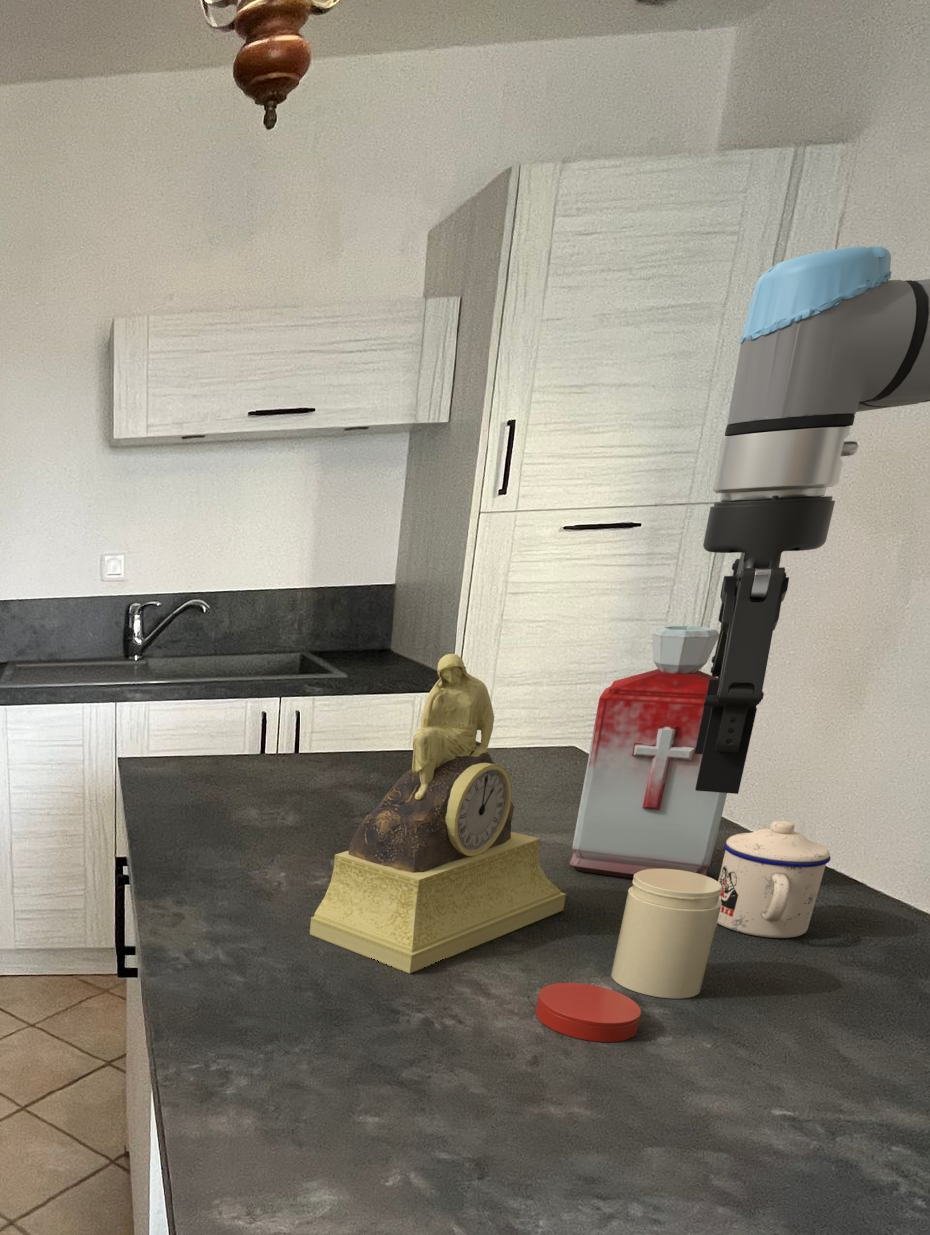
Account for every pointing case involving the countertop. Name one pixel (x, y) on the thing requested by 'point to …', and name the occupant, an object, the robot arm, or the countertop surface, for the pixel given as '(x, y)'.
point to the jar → (667, 933)
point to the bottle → (650, 767)
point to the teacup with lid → (770, 881)
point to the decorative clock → (438, 847)
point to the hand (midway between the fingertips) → (714, 772)
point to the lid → (588, 1012)
